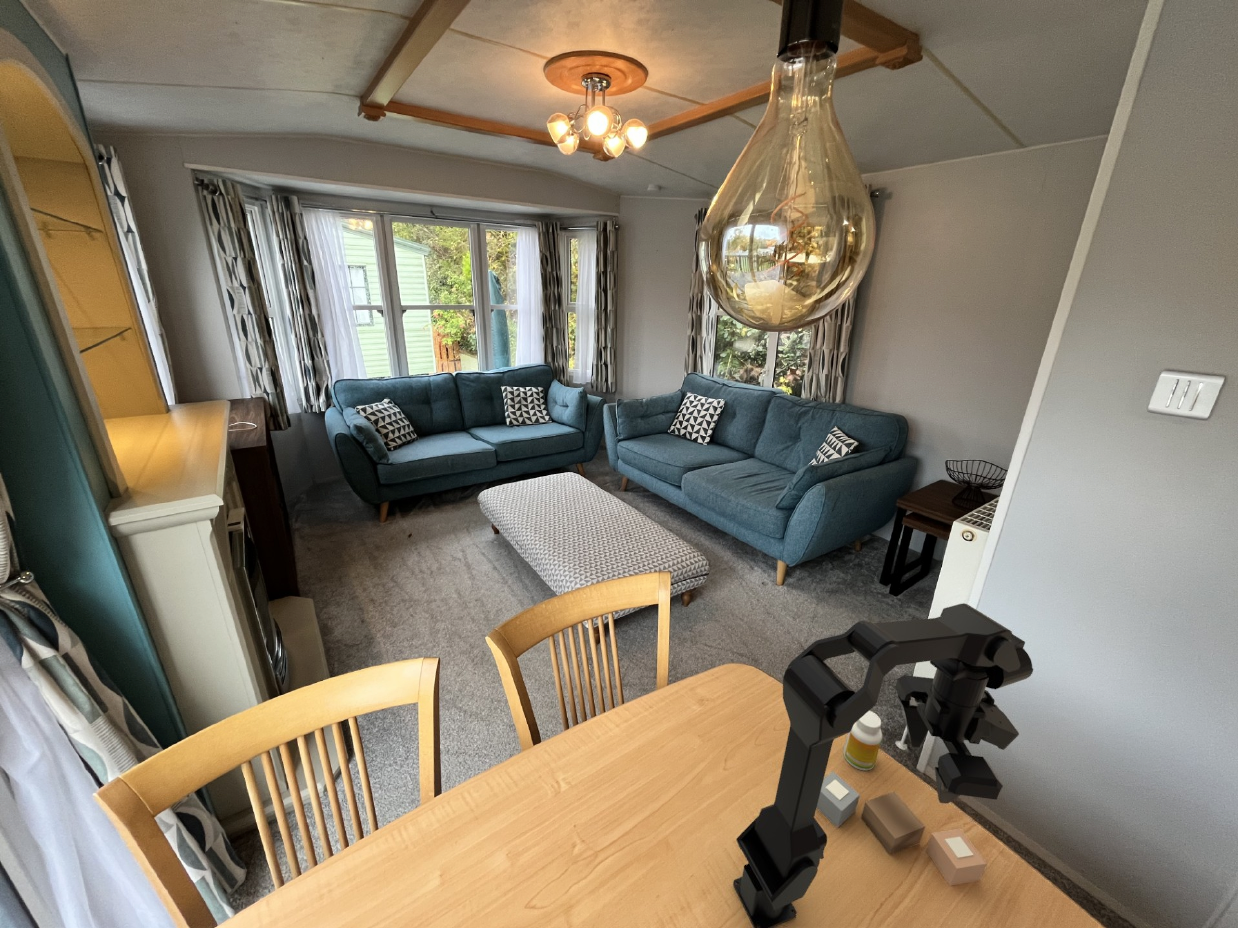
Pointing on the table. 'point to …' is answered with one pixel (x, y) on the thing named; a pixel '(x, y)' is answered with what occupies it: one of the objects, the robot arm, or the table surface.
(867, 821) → the walnut block
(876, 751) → the supplement bottle
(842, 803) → the grey cream-patch block
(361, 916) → the table surface
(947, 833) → the tan cream-patch box
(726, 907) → the table surface
